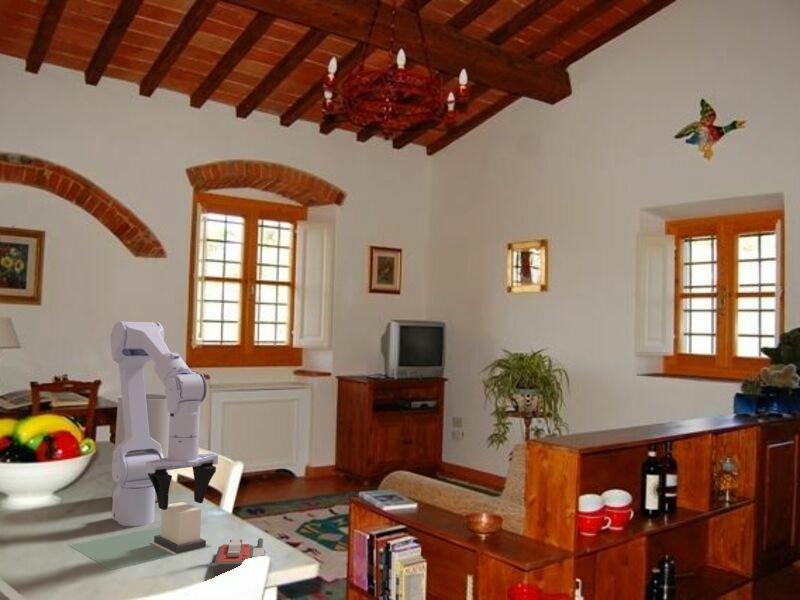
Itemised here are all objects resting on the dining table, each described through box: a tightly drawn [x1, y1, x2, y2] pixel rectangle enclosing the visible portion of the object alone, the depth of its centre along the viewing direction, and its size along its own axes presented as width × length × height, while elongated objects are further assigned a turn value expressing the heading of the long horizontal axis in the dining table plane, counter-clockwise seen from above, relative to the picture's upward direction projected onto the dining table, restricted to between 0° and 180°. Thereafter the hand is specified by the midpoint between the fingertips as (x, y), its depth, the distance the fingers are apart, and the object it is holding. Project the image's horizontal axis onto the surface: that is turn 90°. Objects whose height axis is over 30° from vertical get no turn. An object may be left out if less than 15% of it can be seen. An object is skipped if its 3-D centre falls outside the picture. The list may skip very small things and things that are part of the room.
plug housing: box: [160, 501, 202, 545], centre depth 140 cm, size 7×4×6 cm, turn 46°
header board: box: [68, 526, 212, 571], centre depth 139 cm, size 18×20×5 cm
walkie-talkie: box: [212, 537, 266, 578], centre depth 134 cm, size 9×4×20 cm
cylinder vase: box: [111, 393, 170, 503], centre depth 177 cm, size 12×12×25 cm
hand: (181, 505), depth 140 cm, fingers open, 7 cm apart
